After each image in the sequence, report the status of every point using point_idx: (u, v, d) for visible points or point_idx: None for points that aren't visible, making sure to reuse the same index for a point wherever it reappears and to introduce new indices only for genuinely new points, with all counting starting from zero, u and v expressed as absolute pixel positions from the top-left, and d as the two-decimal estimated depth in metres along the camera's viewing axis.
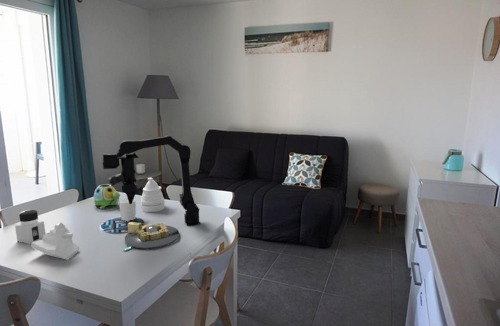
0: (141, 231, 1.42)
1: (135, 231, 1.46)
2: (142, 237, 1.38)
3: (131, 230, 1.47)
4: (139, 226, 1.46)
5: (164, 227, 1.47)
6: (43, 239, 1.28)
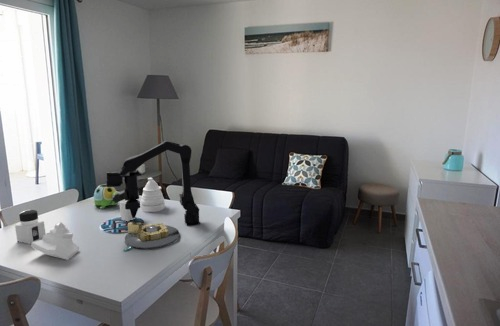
0: (141, 231, 1.42)
1: (135, 231, 1.46)
2: (142, 237, 1.38)
3: (131, 230, 1.47)
4: (139, 226, 1.46)
5: (164, 227, 1.47)
6: (43, 239, 1.28)
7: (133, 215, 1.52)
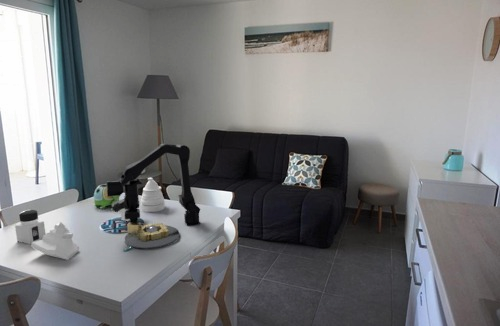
0: (141, 231, 1.42)
1: (135, 231, 1.46)
2: (143, 237, 1.38)
3: (131, 230, 1.46)
4: (139, 226, 1.46)
5: (164, 227, 1.47)
6: (43, 239, 1.28)
7: None
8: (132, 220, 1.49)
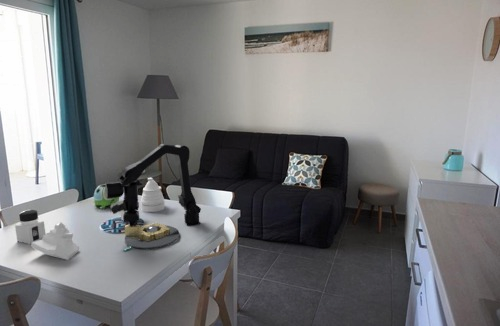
0: (143, 232, 1.42)
1: (133, 233, 1.44)
2: (147, 237, 1.38)
3: (129, 233, 1.44)
4: (138, 228, 1.44)
5: (163, 226, 1.48)
6: (43, 239, 1.28)
7: None
8: (131, 222, 1.46)
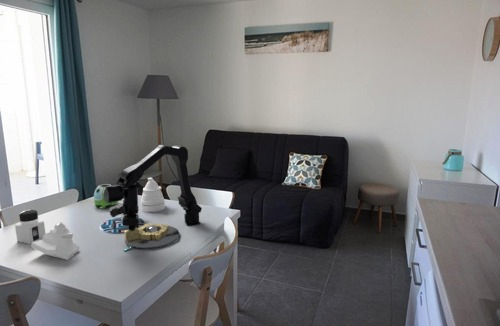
0: (148, 233, 1.41)
1: (135, 237, 1.40)
2: (158, 236, 1.39)
3: (130, 237, 1.39)
4: None
5: (159, 224, 1.50)
6: (43, 239, 1.28)
7: None
8: (130, 226, 1.41)
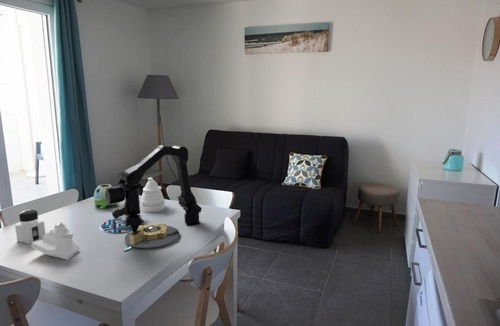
0: (153, 232, 1.41)
1: (141, 239, 1.38)
2: (165, 234, 1.42)
3: (137, 240, 1.36)
4: None
5: (153, 224, 1.50)
6: (43, 239, 1.28)
7: (134, 231, 1.43)
8: (133, 227, 1.42)
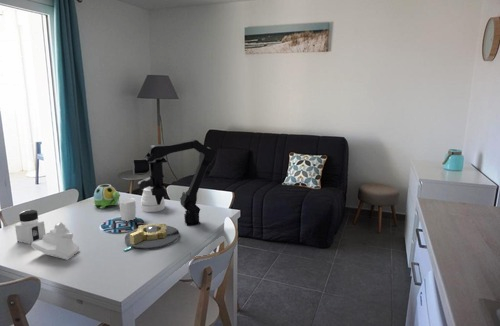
0: (153, 232, 1.41)
1: (141, 239, 1.38)
2: (165, 234, 1.42)
3: (137, 240, 1.36)
4: None
5: (153, 224, 1.50)
6: (43, 239, 1.28)
7: (158, 202, 1.53)
8: (157, 198, 1.52)
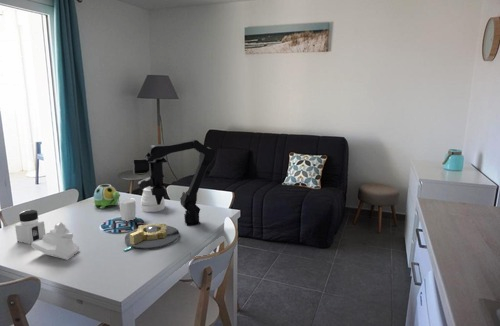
0: (153, 232, 1.41)
1: (141, 239, 1.38)
2: (165, 234, 1.42)
3: (137, 240, 1.36)
4: None
5: (153, 224, 1.50)
6: (43, 239, 1.28)
7: (158, 202, 1.53)
8: (157, 198, 1.52)
